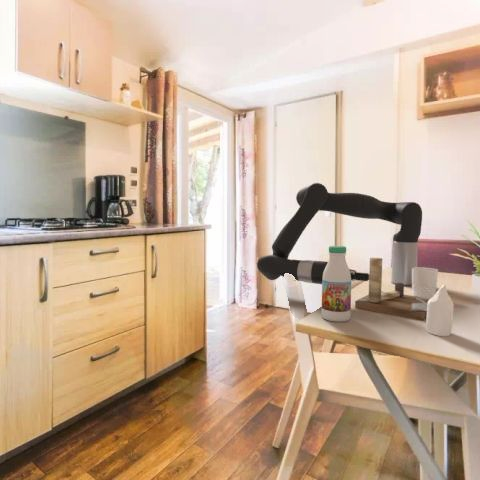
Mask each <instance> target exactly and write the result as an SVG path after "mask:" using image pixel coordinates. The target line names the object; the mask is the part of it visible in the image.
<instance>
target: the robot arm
mask: <svg viewBox="0 0 480 480" xmlns="http://www.w3.org/2000/svg"><path fill="white" fill-rule="evenodd" d="M327 189H328V188H327V187H326V186H325V185H324V184H322V183H319V182H313V183H310V184H308V185H305V186H304V187H302V188H301V189H299V190H298V192H297V194H296V198H295V199H296V202H297V205H298V206H299V208H298V209H297V211H296V212H295V214H294V215H293V216H292V217H291V218H290V219H289V221H287V223H286V224H285V225H284V226H283V228H282V229H281V230H280V232H279V233H278V235H277V236H276V239H275V240H274V241H273V243H272V245H271V250H272V254H264V255H263V256H261V257H259V259H257V262H256V267H257V270H258V271H259V273H261V275H263V276H264V278H266V279H268V280H269V281H275V280H277V279H279V278H280V277H282V278H284V274H285V273H289V274H292V275H293V276H294V277H295V279H296V280H297V281H298V282H303V283H307V284H308V283H309V284H314V285H315V284H317V285H322V279H323V272H324V269H325V267H326V265H327V263H328V261H325V260H324V261H323V260H310V259H306V260H300V259H289V256H290V254H291V252H292V251H293V249H294V247H295V246H296V244H297V242H298V240H299V239H300V237H301V235H302V234H303V233H304V231H305V230H306V228H307V226H308V225H309V224H310V222H311V221H312V220H313V218H315V216H316V214H318V212H320V211H321V212H331V213H335V214H340V215H343V216H349V217H353V218H358V219H359V218H360V219H368V220H369V219H370V220H376V219H377V220H382V221H386V222H389V223H393V224H396V225H400V229H399V231H398V232H396V233H394V234H393V237H392V256H391V257H392V261H391V283H392V284H394V285H395V283H404V286H412V268H414V267H418V252H419V249H418V248H419V238H420V237H421V234H422V233H421V232H422V223H423V211H422V207H421V206H420V204H419V203H418V202H414V201H407V202H406V201H404V202H402V201H401V202H389V201H382V200H380V199H378V198H376V197H374V196H371V195H368V194H364V193H358V192H357V193H356V192H337V193H335V192H328V190H327ZM349 270H350V274H351V282H353V281H354V282H355V281H361V282H369V272H368V273H367V272H357V270H355V269H351V268H349ZM296 280H295V281H296Z"/></svg>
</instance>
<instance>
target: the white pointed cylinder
mask: <svg viewBox="0 0 480 480" xmlns="http://www.w3.org/2000/svg"><path fill="white" fill-rule="evenodd" d="M453 317H454V301H453V299H452V298H451V296H450V295H449V294H448V289H447V285H445V284H443V285H442V286H441V287H440V288H439V289H438V290H436V292H435V295H434V296H433V297H432V298H431V299H430V300H429V301H428V303H427V318H426V321H425V332H426V333H427V334H431V335H433V336H434V335H435V336H438V337H448V336H451V334H452V328H453Z"/></svg>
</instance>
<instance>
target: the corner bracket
mask: <svg viewBox="0 0 480 480" xmlns="http://www.w3.org/2000/svg"><path fill="white" fill-rule="evenodd" d="M411 310H412V311H427V303H426V302H424V301H423V300H419V303H411Z"/></svg>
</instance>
